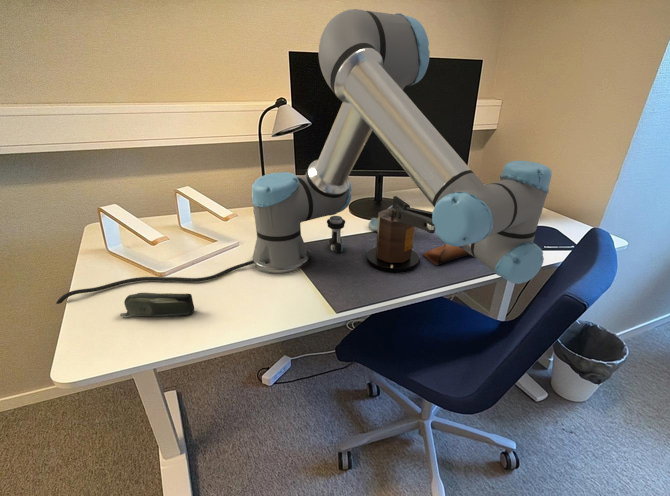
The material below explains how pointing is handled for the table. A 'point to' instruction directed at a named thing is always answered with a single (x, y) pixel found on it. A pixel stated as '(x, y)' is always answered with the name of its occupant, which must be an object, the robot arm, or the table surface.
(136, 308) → the dark green rounded block
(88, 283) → the table surface
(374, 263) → the base
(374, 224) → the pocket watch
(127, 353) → the table surface
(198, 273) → the table surface
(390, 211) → the pen carousel
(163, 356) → the table surface
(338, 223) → the push button
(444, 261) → the sunglasses case
